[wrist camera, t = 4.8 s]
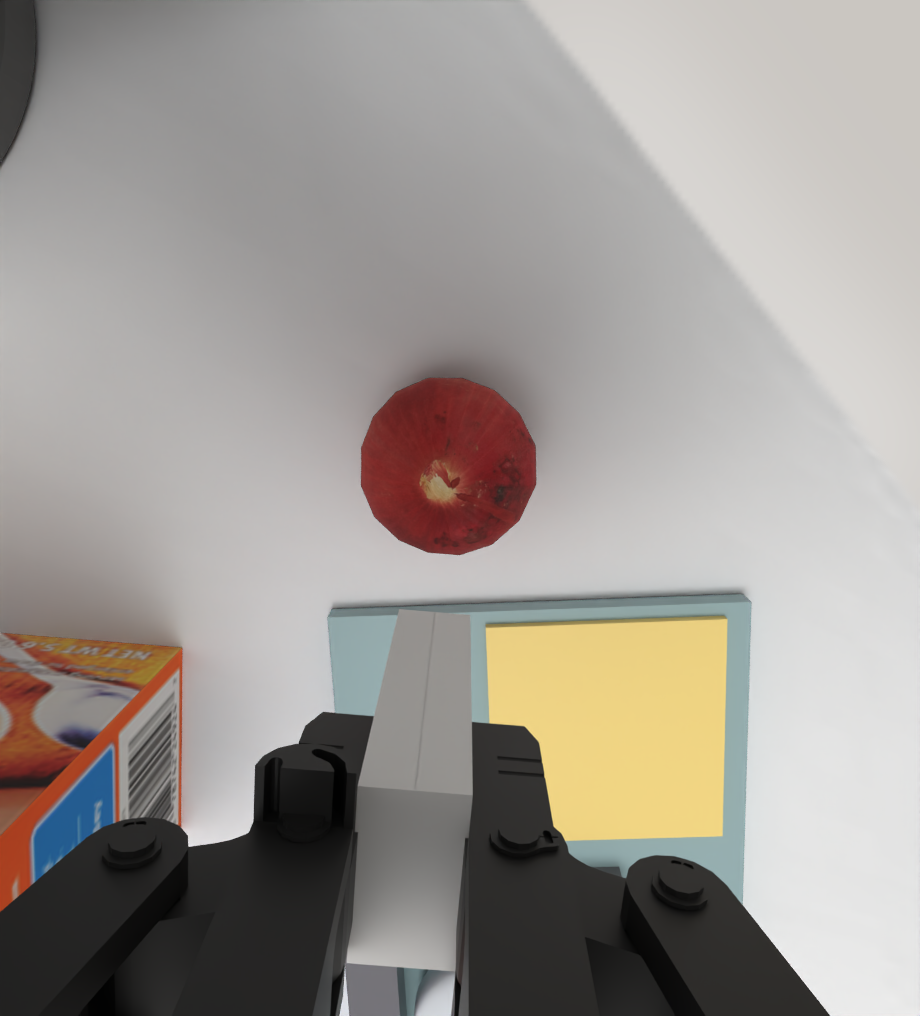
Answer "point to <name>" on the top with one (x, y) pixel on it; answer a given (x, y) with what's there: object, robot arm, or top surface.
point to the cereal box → (82, 745)
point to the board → (359, 676)
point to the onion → (448, 465)
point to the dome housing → (386, 984)
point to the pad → (619, 720)
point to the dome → (435, 994)
